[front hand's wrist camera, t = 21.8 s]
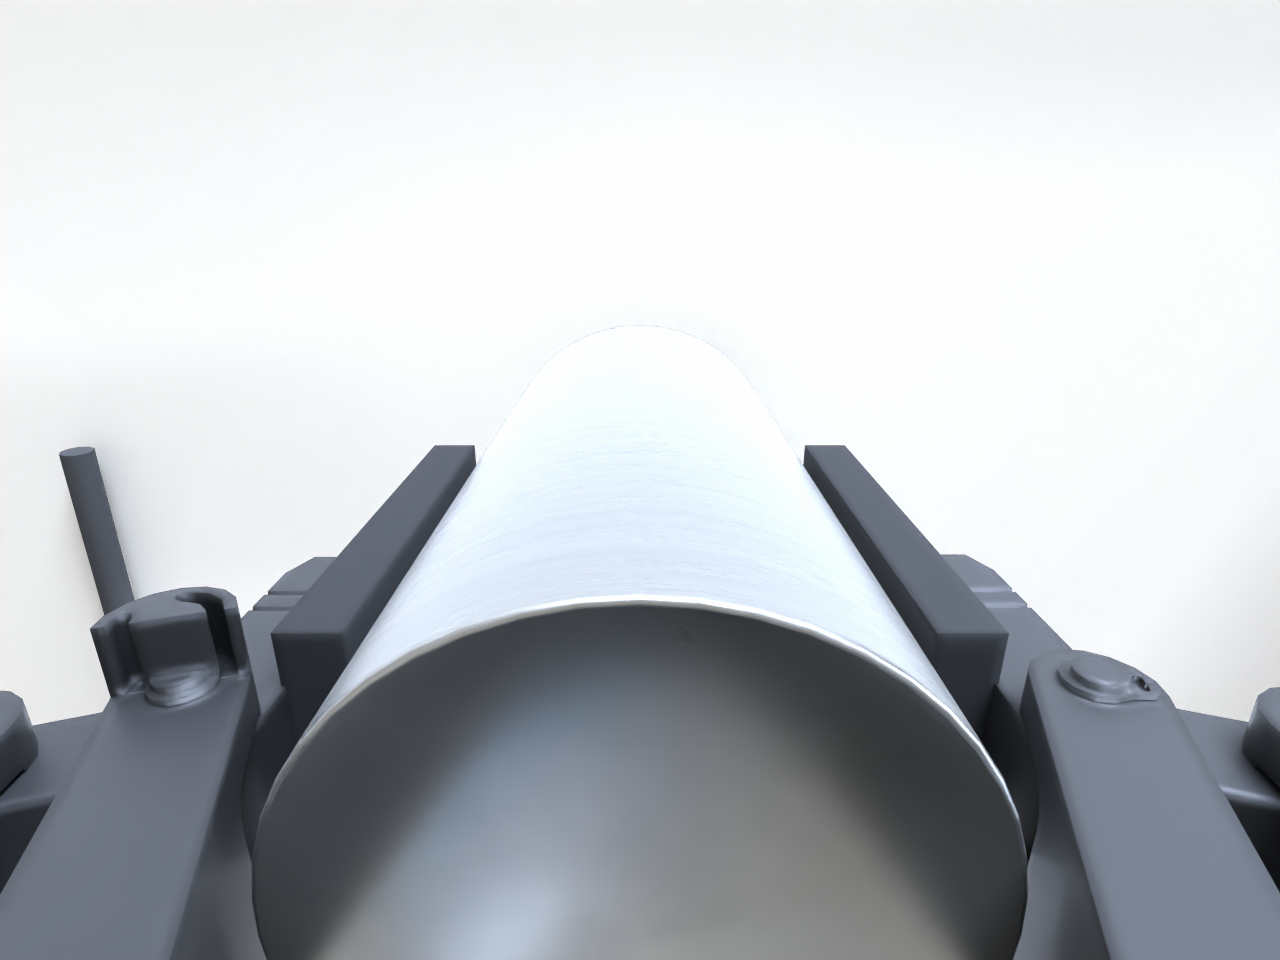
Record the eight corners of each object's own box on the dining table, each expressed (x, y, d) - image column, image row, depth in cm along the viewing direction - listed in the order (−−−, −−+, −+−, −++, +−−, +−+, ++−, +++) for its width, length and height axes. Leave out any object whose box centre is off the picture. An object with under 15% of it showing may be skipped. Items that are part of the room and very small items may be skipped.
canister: (535, 585, 19) (365, 1193, 7) (485, 344, 16) (123, 655, 5) (778, 557, 18) (1013, 1140, 7) (760, 307, 16) (1058, 543, 5)
